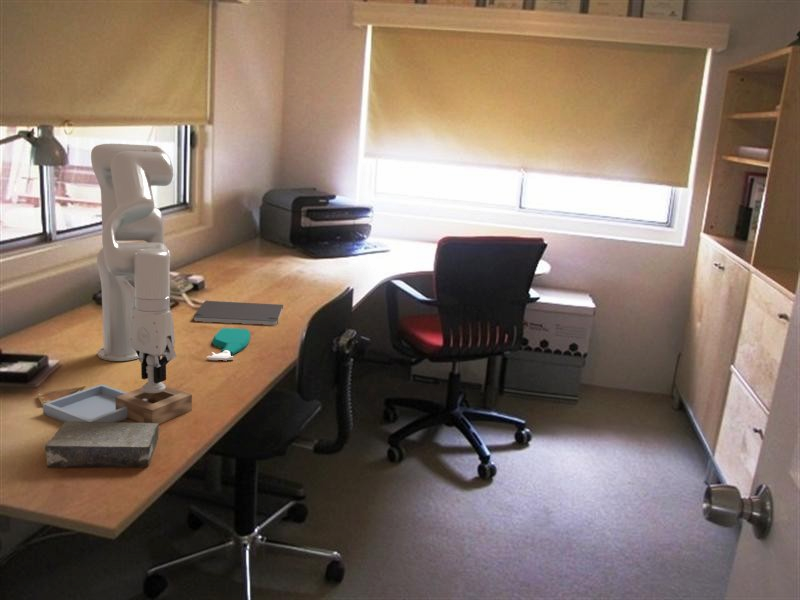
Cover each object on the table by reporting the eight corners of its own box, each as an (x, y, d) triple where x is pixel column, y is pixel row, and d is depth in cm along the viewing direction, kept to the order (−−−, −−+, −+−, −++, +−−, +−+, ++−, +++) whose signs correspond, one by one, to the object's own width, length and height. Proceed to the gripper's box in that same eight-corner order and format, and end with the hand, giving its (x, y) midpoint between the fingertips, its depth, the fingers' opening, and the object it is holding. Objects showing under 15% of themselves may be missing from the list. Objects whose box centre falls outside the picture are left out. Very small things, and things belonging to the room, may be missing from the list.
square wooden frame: (155, 397, 176) (155, 382, 175) (191, 410, 171) (191, 394, 170) (115, 413, 166) (115, 397, 165) (152, 426, 161) (152, 410, 160)
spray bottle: (252, 337, 229) (239, 365, 205) (217, 335, 228) (201, 363, 204) (252, 329, 228) (240, 355, 204) (218, 327, 227) (201, 353, 203)
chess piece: (165, 385, 170) (165, 349, 168) (165, 393, 165) (165, 356, 163) (141, 386, 169) (140, 350, 166) (141, 394, 164) (140, 357, 162)
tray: (102, 393, 177) (102, 383, 176) (148, 409, 169) (148, 399, 169) (43, 414, 163) (42, 403, 162) (90, 432, 156) (90, 422, 155)
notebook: (282, 310, 263) (205, 306, 260) (283, 304, 262) (205, 300, 260) (277, 327, 242) (192, 323, 239) (277, 320, 241) (192, 316, 239)
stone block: (149, 469, 143) (149, 445, 142) (44, 470, 140) (43, 446, 139) (161, 439, 156) (160, 417, 155) (65, 439, 153) (64, 417, 152)
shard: (85, 391, 178) (85, 384, 178) (92, 402, 172) (92, 395, 172) (37, 398, 172) (37, 391, 172) (42, 410, 166) (42, 403, 166)
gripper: (113, 300, 162) (116, 376, 167) (166, 313, 155) (167, 392, 159) (140, 294, 169) (141, 367, 173) (191, 307, 161) (191, 383, 166)
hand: (153, 378), depth 166 cm, fingers closed on chess piece, 3 cm apart
